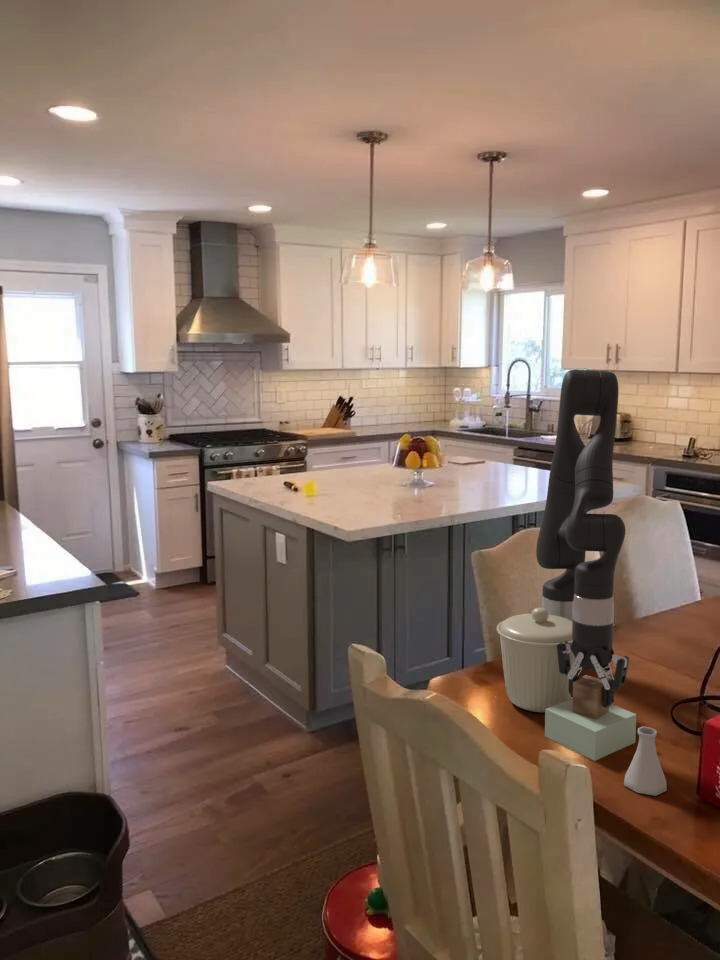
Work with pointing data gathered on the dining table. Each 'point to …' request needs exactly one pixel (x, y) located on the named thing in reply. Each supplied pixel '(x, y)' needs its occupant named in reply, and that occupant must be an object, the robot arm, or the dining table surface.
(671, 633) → the dining table surface
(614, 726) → the sage box
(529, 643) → the canister
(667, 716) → the dining table surface
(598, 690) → the walnut block
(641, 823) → the dining table surface
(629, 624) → the dining table surface
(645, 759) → the flask
